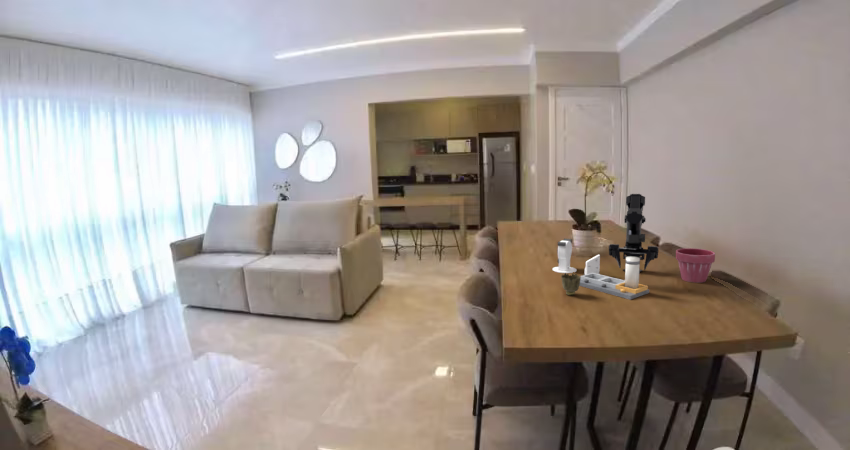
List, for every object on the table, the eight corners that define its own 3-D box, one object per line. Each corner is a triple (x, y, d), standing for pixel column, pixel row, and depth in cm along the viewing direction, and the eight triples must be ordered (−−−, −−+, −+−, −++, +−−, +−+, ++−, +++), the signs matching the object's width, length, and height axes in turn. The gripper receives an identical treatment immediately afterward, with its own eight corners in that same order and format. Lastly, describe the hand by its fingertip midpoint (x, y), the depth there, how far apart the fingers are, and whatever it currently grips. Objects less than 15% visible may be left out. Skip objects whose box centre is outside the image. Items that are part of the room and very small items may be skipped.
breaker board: (593, 278, 188) (593, 272, 188) (649, 292, 166) (649, 285, 166) (574, 284, 181) (574, 277, 181) (630, 299, 159) (630, 292, 159)
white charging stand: (557, 265, 213) (557, 237, 210) (579, 268, 206) (580, 239, 204) (549, 271, 203) (549, 241, 201) (572, 274, 196) (573, 243, 194)
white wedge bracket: (609, 270, 191) (599, 255, 190) (589, 281, 192) (580, 266, 192) (606, 268, 194) (597, 253, 194) (587, 279, 196) (578, 264, 195)
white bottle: (632, 286, 170) (634, 256, 168) (641, 290, 165) (642, 259, 163) (621, 287, 169) (622, 257, 167) (630, 291, 164) (631, 260, 162)
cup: (580, 292, 170) (580, 273, 169) (580, 298, 163) (581, 278, 162) (561, 291, 173) (561, 272, 171) (560, 296, 166) (561, 277, 165)
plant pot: (677, 283, 177) (679, 254, 175) (671, 274, 190) (673, 247, 188) (717, 285, 171) (719, 255, 169) (708, 276, 184) (710, 248, 182)
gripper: (609, 225, 177) (607, 256, 169) (659, 227, 168) (659, 260, 160) (610, 240, 185) (607, 270, 177) (657, 242, 176) (657, 274, 169)
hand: (632, 268), depth 171 cm, fingers open, 9 cm apart
